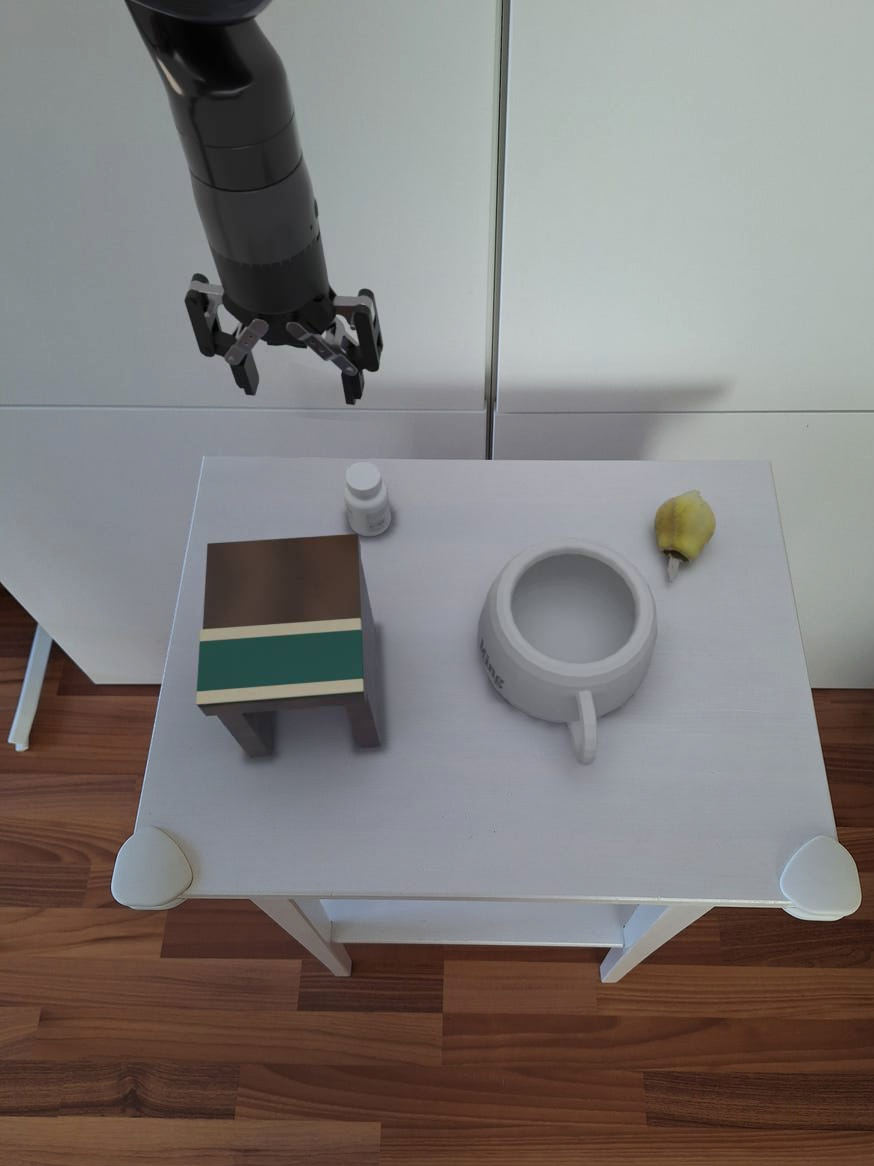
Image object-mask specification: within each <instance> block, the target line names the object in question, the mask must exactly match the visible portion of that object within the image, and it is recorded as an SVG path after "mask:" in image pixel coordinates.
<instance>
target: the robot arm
mask: <svg viewBox="0 0 874 1166" xmlns="http://www.w3.org/2000/svg"><path fill="white" fill-rule="evenodd" d="M274 1H275V0H123V2H124V3H125V6H126V9H127V11H128V12H129V15H130V17H131V19H132V21H133V23H134V26H135V28H136V30H137V32H138V34H139V36H140V39H141V41H142V42H143V45H144V47H145V49H146V50H147V52H148V55H149V56H150V59H151V61H152V63H153V65H154V67H155V69H156V71H157V73H158V76H159V77H160V80H161V82H162V84H163V87H164V90H165V94H166V98H167V101H168V105H169V109H170V113H171V116H172V120H173V122H174V126H175V130H176V132H177V135H178V138H179V141H180V143H181V148H182V152H183V154H184V157H185V160H186V164H187V168H188V171H189V176H190V183H191V189H192V194H193V199H194V203H195V205H196V209H197V212H198V217H199V218H200V222H201V225H202V228H203V231H204V235H205V237H206V240H207V244H208V247H209V249H210V252H211V256H212V259H213V262H214V265H215V269H216V272H217V274H218V278H219V281H220V284H221V285H220V284H214V283H213V284H212V283H210V280H209V279H208V277H207V276H206V275H204V274H202V273H199V272H196V273H193V275H192V277H191V279H190V280H191V281H190V283H189V286H188V288H187V291H186V293H185V297H184V304H185V308H186V310H187V314H188V317H189V321H190V324H191V327H192V331H193V333H194V336H195V340H196V343H197V344H196V345H197V346H198V350H199V353H200V354H201V355H203V356H204V357H206V358H213V357H215V355H216V356H218V357H219V356H220V357H222V358H223V359H224V361H225V362H226V363H227V364H229V367H230V371H231V373H232V375H233V376H232V377H233V379H234V382H235V384H236V386H237V387H238V388H239V389H242V390H243V391H244V394H245V396H253V397H255V396H256V394H257V390H258V387H259V384H260V374H259V371H258V368H257V364H256V361H255V357H254V355H253V351H252V350H253V349H254V347H255V346H256V345H257V344H258V342H259V341H260V340H261V341H263V342H264V343H266V345H267V346H272V347H281V346H288V347H293V348H296V349H305V350H306V349H308V347H309V349H311V350H312V351H313V352H314V353H315V354H316V355H317V356H318V357H320V358H321V360H323V362H329V361H330V362H331V363H332V364H334V365H335V366H336V367H337V368H338V369H339V370H340V371H341V372H340V377H341V378H340V379H341V384H342V388H343V394H344V400H345V405H348V406H349V405H350V406H356V402H357V400H362V397H363V395H364V394H363V393H364V389H365V383H366V382H365V375H364V370H366V371H367V372H370V373H376V372H378V371H379V369H380V365H381V357H382V352H383V350H384V340H383V336H382V329H381V324H380V320H379V312H378V309H377V303H376V297H375V293H374V292H373V291H372V290H371V289H369V288H361V289H359V290H358V293H357V296H346V295H337V292H336V291H335V290H334V289H333V288H332V286H331V284H330V281H329V273H328V269H327V264H326V263H327V262H326V256H325V251H324V246H323V245H324V244H323V240H322V239H323V238H322V235H321V227H320V222H319V215H320V214H319V207H318V200H317V199H316V197H315V192H314V188H313V184H312V183H313V182H312V179H311V175H310V172H309V169H308V166H307V162H306V160H305V157H304V153H303V148H302V142H301V136H300V131H299V130H300V129H299V123H298V119H297V113H296V108H295V104H294V97H293V93H292V88H291V83H290V79H289V76H288V73H287V70H286V66H285V65H284V63H283V60H282V58H281V56H280V55H279V53H278V51H277V49H275V47H274V46H273V44H272V43H271V41H270V40H269V38H268V37H267V36H266V33H264V32H263V30H262V29H261V27H260V25H259V24H258V22H257V19H256V18H257V17H258V16H260V15H262V13H264V12H265V11H266V10H267V9H268V8H269V7H270V6H271V5H272V4H273V2H274ZM222 305H223V307H224V309H225V310H226V311H227V312H228V313H229V314H230V315H231V316H232V317H234V319H236V321H238V323H237V324H236V326H235V328H234V329H233V330H232V332H231V333H229V332H225V331H223V329H222V325H221V322H220V318H219V314H218V310H219V308H220V306H222ZM337 316H341V317H343V318H344V319H345V320H346V323H347V324H348V325H349V329H350V330H351V331H353V332H354V331H355V332H356V336H357V340H356V339H355V338H354V337H352V336H351V335H350V334H349V333H348V332H347V330H346V326H345V324H344V323H343V321H342V320H340V318H339V317H337ZM324 333H325V336H324V337H323V335H324Z"/></svg>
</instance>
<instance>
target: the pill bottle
mask: <svg viewBox="0 0 874 1166" xmlns="http://www.w3.org/2000/svg"><path fill="white" fill-rule="evenodd" d="M343 496H344V497H343V498H344V503H345V508H346V512H347V518H348V521H349V525H350V527H351V529H352V530H353V531H354V532H355V533H356V534H358V535H361V536H363V537H375V536H379V535H382V534H383V533H384V532H385V531H387V529H388V528H389V526H390V524H391V521H392V513H391V506H390V496H389V490H388V486H387V484H386V482H385V481H384V479H383V477H382V473H381V470H380V469H379V467H378V466H377V465H376V464H375V463H372V462H369V461H358V462H356V463H353V464H352V465H350V466H349V467H348V469H347V470H346V472H345V485H344V489H343Z"/></svg>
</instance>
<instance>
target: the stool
mask: <svg viewBox="0 0 874 1166" xmlns="http://www.w3.org/2000/svg"><path fill="white" fill-rule="evenodd" d="M361 549H362V548H361V543H360V538H359V534H358V533H348V534H347V533H346V534H332V535H315V536H302V537H285V538H271V539H256V540H242V541H239V540H238V541H228V542H227V541H225V542H223V541H222V542H210V543H209V542H208V543H207V545H206V561H205V562H206V563H205V580H204V599H203V600H204V601H203V619H202V629H215V628H229V627H243V626H257V625H270V624H284V623H298V622H312V621H325V620H339V619H353V618H361V625H362V651H363V676H364V694H354V695H341V696H329V697H316V698H304V699H291V700H278V701H266V702H253V703H241V704H228V705H215V706H203V707H198V708H199V709H200V711H201V712H202V713H203V715H204V716H205V717H213V716H216V717H217V719H219V721H220V722H221V724H222V725H223V726H224V727H225V728H226V730H227V731H228V732H229V734H230V735H231V736H232V737H233V739H234V740H235V741H236V742H237V744H238V745H239V746H240V747H241V749H242V750H243V751H244V752H245V754H246V755H247V756H248V757H249V758H260V757H271V756H272V749H273V747H272V742H273V741H272V739H273V736H272V735H273V712H276V711H288V710H289V711H290V710H301V709H313V708H315V709H316V708H326V707H327V708H328V707H337V706H338V707H339V706H344V708H345V710H346V715H347V717H348V719H349V723H350V725H351V727H352V730H353V734H354V736H355V739H356V742H357V745H358V748H359V749H368V748H369V749H370V748H380V747H382V737H381V715H380V699H379V698H380V695H379V694H380V693H379V692H380V691H379V673H378V671H379V670H378V654H377V653H378V651H377V649H378V648H377V634H376V633H377V632H376V625H375V621H374V615H373V610H372V606H371V599H370V596H369V591H368V586H367V581H366V576H365V571H364V566H363V561H362V552H361Z"/></svg>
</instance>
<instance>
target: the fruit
mask: <svg viewBox="0 0 874 1166" xmlns="http://www.w3.org/2000/svg"><path fill="white" fill-rule="evenodd" d="M700 494H701V492H700V491H699V490H697V489H692V490H689V491H686V492H684V493H682V494H680V495H677V496H674V497H671V498H668V499H667V500H665V501H664V502H662V504H660V506H659V507H658V508H657V511H656V513H655V516H654V525H653V526H654V532H655V535H656V538H657V547H658V550H659V551H660V553H661V554H662V555H664V556H667V557H669V561H668V564H667V574H668V582H669V583H672V584H673V583H674V581H675V579H676V577H677V573H678V570H679V565H680V563H681V562H682V563H687V564H689V563H693V562H694V561H695V560H696V559H697V558H698V556H699V554H700V553H701V552H702V551H703V550H704V549H705V547H706V545H707V544H708V543H709V542H710V541H711V539H712V538H713V536H714V534H715V531H716V523H717V522H716V516H715V514H714V511H713V510H712V508H711V506H710V504H709V503H708V502H707V501H706V500H704V499H703V497H702V496H701V495H700Z"/></svg>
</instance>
